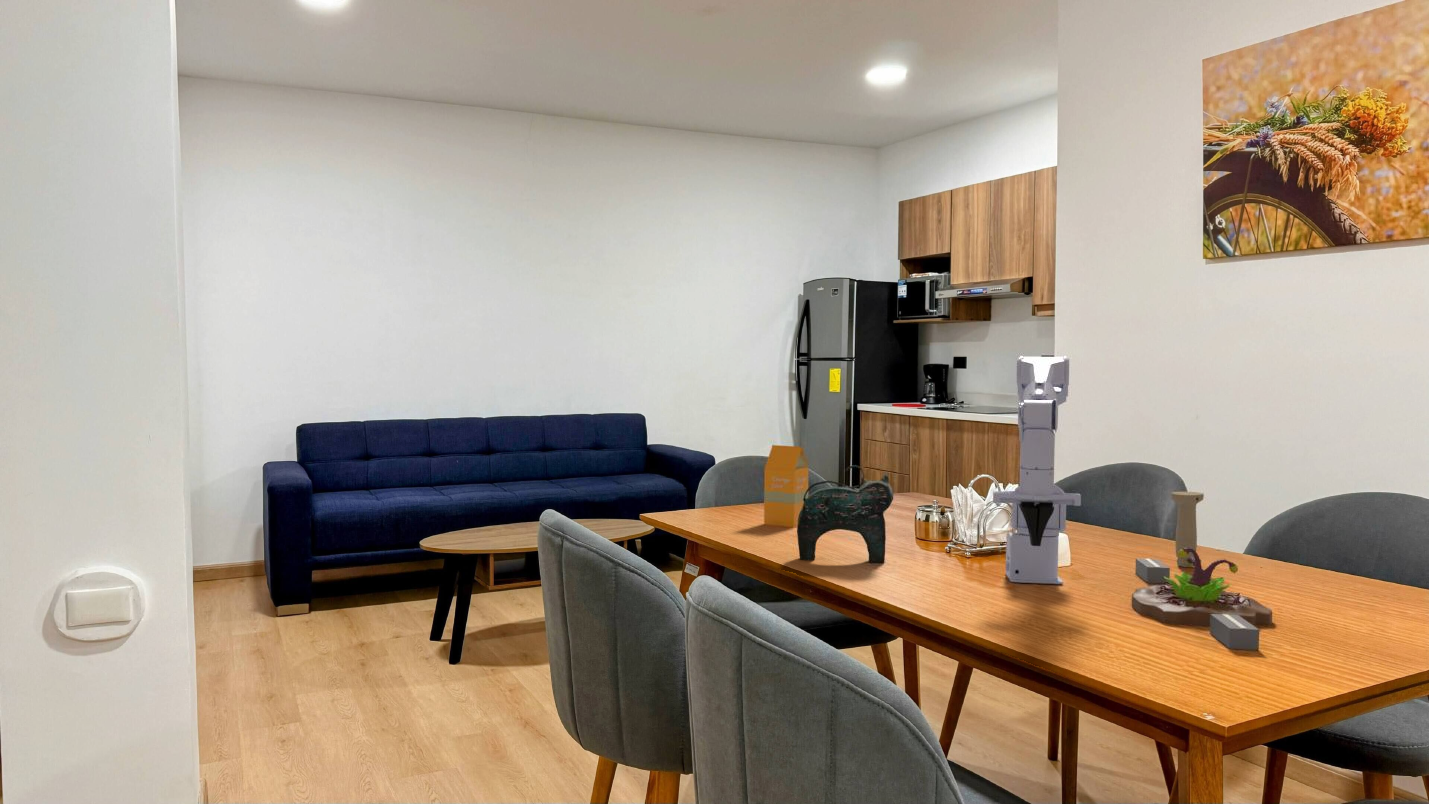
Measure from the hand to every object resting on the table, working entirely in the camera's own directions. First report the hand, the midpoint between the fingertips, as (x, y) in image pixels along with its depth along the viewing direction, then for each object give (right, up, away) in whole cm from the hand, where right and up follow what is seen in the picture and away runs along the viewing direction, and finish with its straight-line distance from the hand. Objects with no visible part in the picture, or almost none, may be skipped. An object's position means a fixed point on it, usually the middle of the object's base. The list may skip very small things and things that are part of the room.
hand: (1035, 545), depth 168 cm
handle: (+40, -9, +27) cm, 49 cm away
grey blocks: (+24, -10, -5) cm, 27 cm away
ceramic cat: (-29, -8, +32) cm, 44 cm away
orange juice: (-38, -6, +77) cm, 86 cm away
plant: (+24, -11, -8) cm, 27 cm away
